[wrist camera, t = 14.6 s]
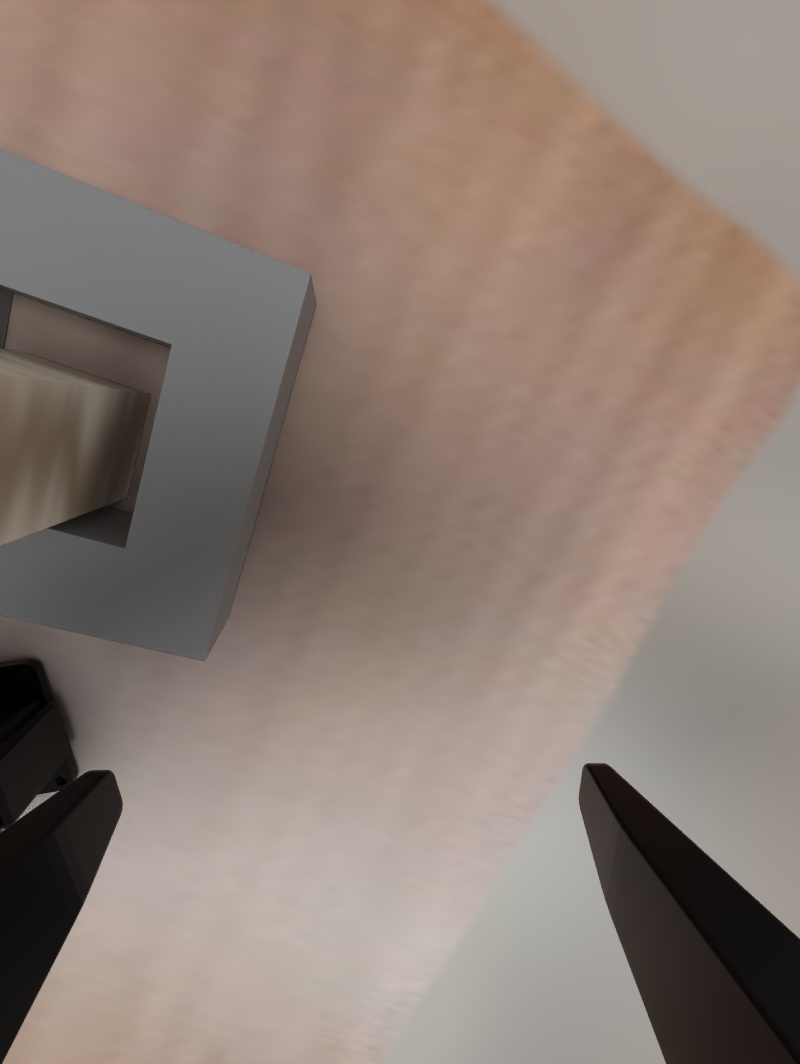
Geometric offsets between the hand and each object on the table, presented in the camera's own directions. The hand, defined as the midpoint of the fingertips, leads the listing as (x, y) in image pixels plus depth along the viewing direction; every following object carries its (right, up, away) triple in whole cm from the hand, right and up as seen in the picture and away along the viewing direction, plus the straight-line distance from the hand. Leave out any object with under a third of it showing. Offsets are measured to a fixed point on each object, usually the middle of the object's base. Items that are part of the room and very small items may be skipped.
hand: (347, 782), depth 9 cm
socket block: (-11, +9, +10) cm, 17 cm away
